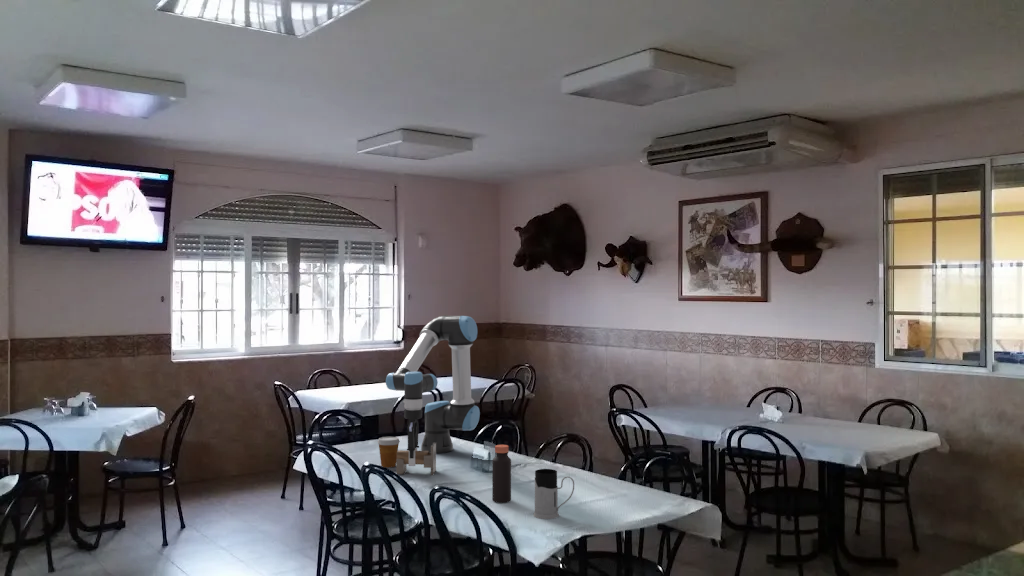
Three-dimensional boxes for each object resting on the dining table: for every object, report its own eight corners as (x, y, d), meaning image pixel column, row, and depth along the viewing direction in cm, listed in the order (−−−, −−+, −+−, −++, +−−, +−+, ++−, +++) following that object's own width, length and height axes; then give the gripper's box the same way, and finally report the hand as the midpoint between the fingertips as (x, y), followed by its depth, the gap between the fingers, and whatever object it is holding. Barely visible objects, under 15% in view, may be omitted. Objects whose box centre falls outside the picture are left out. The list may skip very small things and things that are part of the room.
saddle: (399, 470, 332) (399, 455, 332) (406, 470, 332) (406, 455, 332) (396, 474, 325) (396, 459, 325) (403, 474, 325) (403, 459, 325)
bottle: (492, 498, 289) (493, 444, 289) (511, 498, 289) (511, 444, 289) (491, 503, 282) (491, 447, 282) (510, 503, 282) (510, 447, 282)
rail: (398, 462, 330) (398, 450, 330) (428, 462, 330) (428, 450, 330) (396, 464, 327) (396, 452, 327) (427, 464, 326) (427, 452, 326)
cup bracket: (426, 470, 332) (426, 442, 332) (435, 470, 332) (436, 442, 332) (423, 475, 324) (423, 446, 324) (433, 475, 324) (433, 446, 324)
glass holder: (536, 510, 273) (537, 467, 273) (576, 514, 268) (576, 470, 268) (530, 517, 264) (530, 473, 264) (571, 521, 260) (571, 476, 260)
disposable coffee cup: (373, 467, 338) (373, 439, 338) (385, 462, 347) (385, 435, 347) (392, 469, 335) (392, 441, 335) (403, 464, 344) (403, 437, 344)
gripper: (408, 405, 337) (407, 460, 337) (400, 411, 320) (400, 468, 320) (425, 406, 337) (425, 460, 336) (418, 411, 320) (418, 469, 320)
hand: (412, 464), depth 328 cm, fingers closed on rail, 3 cm apart
